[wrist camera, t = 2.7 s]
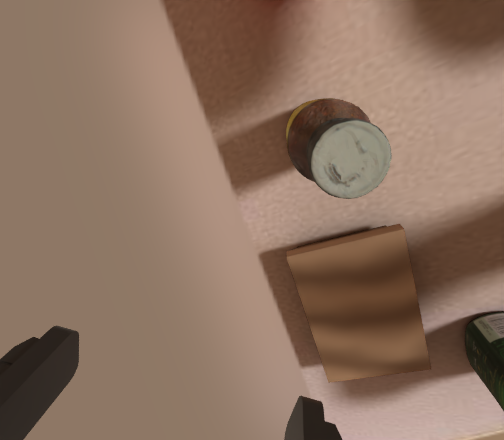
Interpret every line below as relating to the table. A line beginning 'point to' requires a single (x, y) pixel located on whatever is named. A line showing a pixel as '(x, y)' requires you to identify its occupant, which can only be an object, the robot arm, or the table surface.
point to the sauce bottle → (337, 147)
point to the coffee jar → (488, 351)
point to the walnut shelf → (361, 303)
